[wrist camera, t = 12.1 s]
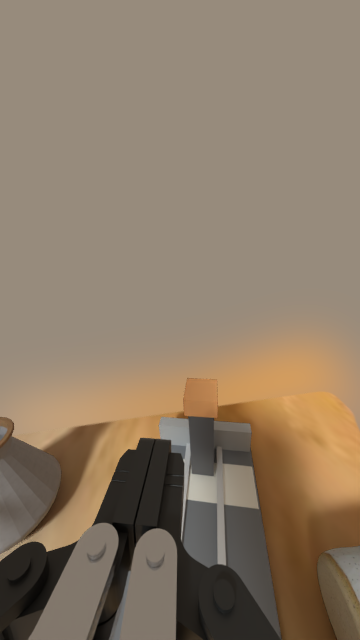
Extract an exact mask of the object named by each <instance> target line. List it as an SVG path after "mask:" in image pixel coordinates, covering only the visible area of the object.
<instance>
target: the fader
mask: <svg viewBox="0 0 360 640" xmlns="http://www.w3.org/2000/svg"><path fill="white" fill-rule="evenodd" d="M217 397H218V396H217V380H216V379H193V378H187V382H186V388H185V393H184V398H183V404H184V416H188V419H189V436H190V452H191V469H192V474H198V475H207V476H214V418H217V413H218V399H217Z"/></svg>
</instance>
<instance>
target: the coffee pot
mask: <svg viewBox="0 0 360 640" xmlns="http://www.w3.org/2000/svg"><path fill="white" fill-rule="evenodd" d="M13 430H14V423H13V422H12V420H10V419H8V418H5V417H0V554H1V553H3V552H5V551H7V550H9V549H10V548H12V547H13V546H15V545H16V544H17V543H19V542H20V541H22V540H23V539H24V538H25V537H26V536H27V535H28V534H29V533H31V532H32V531H33V530H34V529H35V528H36V527H37V526H38V524H39V523H40V522H41V521H42V519H43V518H44V517H45V515H46V514H47V513H48V511H49V509H50V508H51V506H52V504H53V502H54V501H55V498H56V495H57V493H58V490H59V486H60V481H61V468H60V465H59V462H58V461H57V460H56V459H55V457H54V456H52V455H50V454H48V453H46V452H44V451H42V450H40V449H37V448H35V447H33V446H31V445H29V444H27V443H25V442H23V441H21V440H19V439H16V438H14V437H12V433H13Z"/></svg>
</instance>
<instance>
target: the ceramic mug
mask: <svg viewBox="0 0 360 640" xmlns="http://www.w3.org/2000/svg"><path fill="white" fill-rule="evenodd" d="M317 573H318V580H319V585H320V589H321V593H322V597H323V601H324V604H325V607H326V610H327V613H328V616H329V619H330V622H331V624H332V627H333V629H334V632H335V635H336V637H337V640H360V546H357V547H342V548H335V549H331V550H328V551H325V552H323V553H322V554H321V555H320V557H319V559H318V563H317Z"/></svg>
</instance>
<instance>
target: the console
mask: <svg viewBox="0 0 360 640" xmlns="http://www.w3.org/2000/svg"><path fill="white" fill-rule="evenodd" d="M159 430H160V437H161V439H166V440H171V453H181V455H182V458H183V461H184V463H185V467H184V500H183V516H182V531H181V541H182V544H183V546H184V548H185V550H186V551H187V553H188V554H189V555H190V556H191V557H192V558H193V559H195V560H196V561H198V562H200V563H201V564H203V565H205V566H206V567H208V568H210V567H211V566H213V565H217V564H223V565H226V566H228V567H230V568H231V569H233V570H234V571H235V572H236V573H237V574H238V575H239V577H240V578H241V579H242V581H243V582H244V584H245V586H246V587H247V589H248V590H249V592H250V593H251V595H252V596H253V598H254V599H255V601H256V602H257V604H258V605H259V607H260V608H261V610H262V611H263V613H264V615H265V616H266V618H267V619H268V621H269V622H270V624H271V625H272V627H273V628H274V630H275V631H276V633H277V634H278V636H279V637H280V639H281V632H280V626H279V620H278V614H277V608H276V602H275V596H274V589H273V583H272V577H271V571H270V565H269V559H268V552H267V546H266V540H265V534H264V528H263V522H262V516H261V509H260V503H259V497H258V491H257V485H256V479H255V473H254V466H253V460H252V454H251V448H250V445H251V434H252V432H251V427H250V424H249V423H235V422H222V421H214V476H207V475H198V474H192V469H191V452H190V436H189V419H182V418H168V417H161V420H160V423H159ZM130 573H131V571H129V572H128V576H127V581H126V585H125V589H124V598H123V604H122V608H121V612H120V616H119V619H118V623H117V627H116V630H115V634H114V638H113V640H119V639H120V633H121V627H122V621H123V615H124V609H125V603H126V597H127V591H128V585H129V579H130ZM281 640H282V639H281Z"/></svg>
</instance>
